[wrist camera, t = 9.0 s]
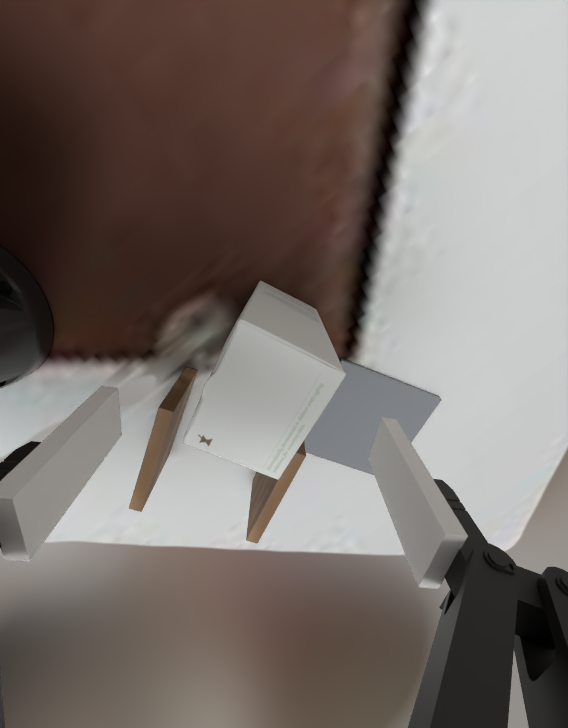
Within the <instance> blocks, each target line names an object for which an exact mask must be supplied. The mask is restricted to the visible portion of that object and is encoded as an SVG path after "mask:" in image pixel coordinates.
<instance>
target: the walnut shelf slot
mask: <svg viewBox="0 0 568 728" xmlns="http://www.w3.org/2000/svg"><path fill="white" fill-rule="evenodd" d="M196 373H197V370H194V369H191V368H188V367H186V368H185V369H184V371H183V372H182V374H181V375H180V377H179V378H178V380H177V381H176V383H175V384H174V386H173V387H172V389H171V390H170V392H169V393H168V395H167V396H166V398H165V399H164V401H163V402H162V404H161V405H160V407H159V409H158V412H157V416H156V419H155V422H154V426H153V429H152V432H151V436H150V439H149V442H148V446H147V449H146V452H145V456H144V459H143V462H142V466H141V469H140V472H139V476H138V479H137V482H136V486H135V489H134V492H133V496H132V499H131V502H130V506H129V509H133V510H136V511H140V512H142V510H143V507H144V505H145V503H146V501H147V499H148V497H149V495H150V493H151V491H152V489H153V487H154V485H155V483H156V481H157V479H158V477H159V475H160V473H161V470H162V468H163V466H164V464H165V462H166V460H167V458H168V456H169V453H170V450H171V447H172V444H173V442H174V439H175V436H176V433H177V430H178V427H179V424H180V421H181V418H182V415H183V412H184V409H185V406H186V403H187V400H188V397H189V394H190V391H191V388H192V385H193V382H194V379H195V376H196ZM305 457H306V452H305V443H304V441H303V443H302V444H301V446H300V447H299V449H298V450H297V452H296V453H295V455H294V456H293V458H292V459H291V461H290V462H289V464H288V466H287V467H286V469H285V470H284V472H283V473H282V475H281V477H280V478H279V479H278V480H277V479H275V478H272V477H269V476H267V475H264V474H261V473H259V472H257V473H256V476H255V478H254V480H253V483H252V492H251V501H250V510H249V520H248V529H247V538H246V540H247V541H250V542H254V543H258V541H259V540H260V538H261V536H262V534H263V532H264V531H265V529H266V527H267V525H268V523H269V522H270V520H271V518H272V516H273V514H274V513H275V511H276V509H277V507H278V505H279V504H280V502H281V500H282V498H283V496H284V495H285V493H286V491H287V489H288V487H289V485H290V484H291V482H292V480H293V478H294V476H295V475H296V473H297V471H298V469H299V467H300V466H301V464H302V462H303V460H304V458H305Z"/></svg>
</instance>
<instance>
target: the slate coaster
mask: <svg viewBox="0 0 568 728" xmlns="http://www.w3.org/2000/svg"><path fill="white" fill-rule="evenodd" d="M340 363H341V365H342V368H343V370H344V372H345V373H346V375H345V377H344V379H343V380H342V382H341V384H340V385H339V387H338V388H337V390H336V392H335V393H334V395H333V396H332V398H331V399H330V401H329V403H328V404H327V406H326V407H325V409H324V410H323V412H322V414H321V415H320V417H319V418H318V420H317V421H316V423H315V424H314V426H313V427H312V429H311V430H310V432H309V433H308V435H307V436H306V438H305V440H304V443H305V452H306V453H309V454H312V455H315V456H318V457H321V458H324V459H327V460H330V461H333V462H336V463H339V464H342V465H345V466H348V467H351V468H354V469H357V470H360V471H363V472H366V473H369V474H372V475H374V473H373V470H372V468H371V465H370V463H369V460H368V458H369V455H370V452H371V449H372V446H373V443H374V440H375V437H376V433H377V430H378V427H379V424H380V421H381V418H382V417H383V418H392V419H396V420H397V421H398V423H399V425H400V426H401V428H402V429H403V431H404V433H405V434H406V436H407V438H408V439H409V441H410V442H412V441H413V439H414V438H415V436H416V435H417V434H418V432H419V431H420V429H421V428H422V427H423V425H424V424H425V422H426V421H427V419H428V418H429V417H430V415H431V414H432V412H433V411H434V410H435V408H436V407H437V405H438V404H439V403H440V401H441V400H442V399H441V398H440V397H438V396H436V395H433V394H431V393H428V392H426V391H423V390H421V389H418V388H415V387H413V386H410V385H408V384H405V383H403V382H400V381H398V380H395V379H393V378H390V377H387V376H385V375H382V374H380V373H377V372H375V371H372V370H370V369H367V368H365V367H362V366H359V365H357V364H354V363H352V362H349V361H347V360H344V359H342V358H341V360H340Z"/></svg>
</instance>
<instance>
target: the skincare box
mask: <svg viewBox="0 0 568 728" xmlns="http://www.w3.org/2000/svg"><path fill="white" fill-rule="evenodd" d="M345 375H346V373H345V372H344V370H343V368H342V365H341V363H340V361H339V359H338V357H337V354H336V352H335V350H334V348H333V346H332V343H331V341H330V339H329V337H328V334H327V332H326V330H325V328H324V325H323V323H322V321H321V319H320V317H319V314H318V312H317V310H316V309H315V308H313V307H311V306H309V305H308V304H306V303H304V302H302V301H300V300H298V299H296V298H294V297H292V296H290V295H288V294H286V293H284V292H282V291H280V290H278V289H276V288H274V287H272V286H271V285H269V284H267V283H265V282H263V281H259V283H258V285H257V286H256V288H255V290H254V292H253V294H252V296H251V297H250V299H249V301H248V302H247V304H246V306H245V307H244V309H243V311H242V313H241V314H240V316H239V318H238V320H237V321H236V323H235V325H234V327H233V329H232V331H231V332H230V334H229V336H228V338H227V340H226V342H225V344H224V347H223V349H222V351H221V353H220V355H219V357H218V360H217V362H216V364H215V366H214V369H213V371H212V373H211V376H210V378H209V379H208V380H207V381H206V383H205V385H204V387H203V391H202V396H201V399H200V401H199V403H198V406H197V408H196V410H195V413H194V415H193V417H192V420H191V422H190V424H189V426H188V428H187V431H186V433H185V435H184V439H183V443H184V444H187V445H190V446H192V447H195V448H198V449H200V450H203V451H205V452H208V453H211V454H213V455H216V456H219V457H221V458H224V459H226V460H229V461H232V462H234V463H237V464H239V465H242V466H244V467H246V468H249V469H251V470H254V471H256V472H259V473H261V474H264V475H267V476H269V477H272V478H275V479H277V480H278V479H279V478H280V477H281V475H282V473H283V472H284V470H285V469H286V467H287V466H288V464H289V462H290V461H291V459H292V458H293V456H294V455H295V453H296V452H297V450H298V449H299V447H300V446H301V444H302V443H303V441H304V440H305V438H306V436H307V435H308V433H309V432H310V430H311V429H312V427H313V426H314V424H315V423H316V421H317V420H318V418H319V417H320V415H321V414H322V412H323V410H324V409H325V407H326V406H327V404H328V403H329V401H330V399H331V398H332V396H333V395H334V393H335V392H336V390H337V388H338V387H339V385H340V384H341V382H342V380H343V379H344V377H345Z"/></svg>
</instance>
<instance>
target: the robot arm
mask: <svg viewBox="0 0 568 728" xmlns="http://www.w3.org/2000/svg"><path fill="white" fill-rule="evenodd" d="M52 341H53V322H52V317H51V313H50V309H49V306H48V304H47V301H46V299H45V297H44V295H43V293H42V291H41V289H40V288H39V286H38V285H37V283H36V281H35V280H34V279H33V277H32V276H31V275H30V274H29V272H28V271H27V270H26V269H25V268H24V267H23V265H22V264H21V263H20V262H19V261H17V260H16V259H15V258H14V257H13V256H12V255H11V254H10V253H8V252H7V251H6V250H4V249H3V248H2V247H0V388H3V387H6V386H9V385H11V384H13V383H15V382H17V381H19V380H21V379H22V378H24V377H26V376H27V375H29V374H31V373H32V372H34V371H35V370H36V369H38V368H39V367H40V366H41V365H42V363H43V362H44V361H45V359H46V358H47V356H48V354H49V352H50V349H51V346H52ZM121 435H122V432H121V419H120V407H119V394H118V388H114V387H105V386H101V387H100V388H99V389H98V390H97V391H96V392H95V393H94V394H93V395H91V396H90V397H89V398H88V399H87V400H86V401H85V402H84V403H83V404H82V405H81V406H80V407H79V408H78V409H77V410H75V411H74V412H73V413H72V414H71V415H70V416H69V417H68V418H67V419H66V420H65V421H64V422H63V423H62V424H61V425H60V426H59V427H57V428H56V429H55V430H54V431H53V432H52V433H51V434H50V435H49V436H48V437H47V438H46V439H45V440H44V441H43V442H33V441H31V442H29V443H27V444H25V445H23V446H22V447H20V448H18V449H16V450H15V451H13V452H12V453H11V454H10V455H9V456H8V457H7V458H6V459H4V462H1V463H0V548H1V550H2V553H3V556H4V559H5V560H16V561H31V559H32V558H33V556H34V555H35V554H36V552H37V551H38V549H39V548H40V547H41V545H42V544H43V543H44V541H45V540H46V538H47V537H48V536H49V534H50V533H51V532H52V530H53V529H54V527H55V526H56V525H57V523H58V522H59V520H60V519H61V518H62V516H63V515H64V514H65V512H66V511H67V509H68V508H69V507H70V505H71V504H72V503H73V501H74V500H75V498H76V497H77V496H78V494H79V493H80V492H81V490H82V489H83V487H84V486H85V485H86V483H87V482H88V480H89V479H90V478H91V476H92V475H93V474H94V472H95V471H96V469H97V468H98V467H99V465H100V464H101V463H102V461H103V460H104V458H105V457H106V456H107V454H108V453H109V452H110V450H111V449H112V447H113V446H114V445H115V443H116V442H117V440H118V439H119V438H120V436H121ZM368 460H369V463H370V465H371V468H372V470H373V473H374V475H375V478H376V480H377V483H378V486H379V488H380V491H381V493H382V496H383V498H384V501H385V503H386V506H387V508H388V511H389V514H390V516H391V519H392V521H393V524H394V526H395V529H396V531H397V534H398V536H399V539H400V542H401V544H402V547H403V549H404V552H405V554H406V557H407V559H408V562H409V564H410V567H411V569H412V572H413V575H414V577H415V580H416V582H417V585H418V587H425V588H439V587H440V585H441V584H442V582H443V580H444V578H445V579H446V581H447V583H448V585H449V587H450V591H449V592H448V594H447V596H446V597H445V599H444V601H443V603H442V604H441V606H440V608H441V609H442V614H441V617H440V621H439V624H438V627H437V631H436V634H435V637H434V641H433V644H432V648H431V651H430V655H429V658H428V661H427V665H426V668H425V671H424V675H423V678H422V682H421V685H420V689H419V692H418V696H417V699H416V702H415V705H414V709H413V712H412V715H411V719H410V722H409V726H408V728H507V727H508V714H509V701H510V689H511V677H512V664H513V651H515V656H516V661H517V667H518V672H519V677H520V683H521V687H522V693H523V699H524V704H525V709H526V714H527V720H528V725H529V728H568V572H566V571H565V570H563V569H560V568H557V567H547V568H546V569H545V571H544V572H543V573H542V575H541V574H538V573H535V572H532V571H530V570H527V569H524V568H521V567H519V566H516V564H515V562H514V561H513V560H512V559H511V558H510V557H509V556H508V555H507V553H505V552H504V551H502V550H501V549H500V548H498V547H496V546H494V545H492V544H488V542H487V541H486V539H485V538H484V536H483V535H482V533H481V532H480V530H479V529H478V527H477V526H476V524H475V523H474V521H473V520H472V518H471V516H470V515H469V513H468V512H467V511H465V507H464V506H463V504H462V503H461V502H460V500H459V498H458V497H457V495H456V494H455V492H454V491H453V489H451V488H450V487H449V486H448V485H447V484H446V483H445V482H444V481H443V480H437V479H433V478H432V477H431V475H430V473H429V472H428V470H427V468H426V467H425V465H424V464H423V462H422V460H421V459H420V457H419V455H418V454H417V452H416V451H415V449H414V447H413V446H412V444H411V442H410V441H409V439H408V438H407V436H406V434H405V433H404V431H403V429H402V428H401V426H400V425H399V423H398V421H397V420H396V419H392V418H383V417H382V418H381V421H380V424H379V427H378V430H377V433H376V437H375V440H374V443H373V446H372V449H371V452H370V455H369V458H368ZM0 728H5V719H4V707H3V694H2V680H1V667H0Z"/></svg>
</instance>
